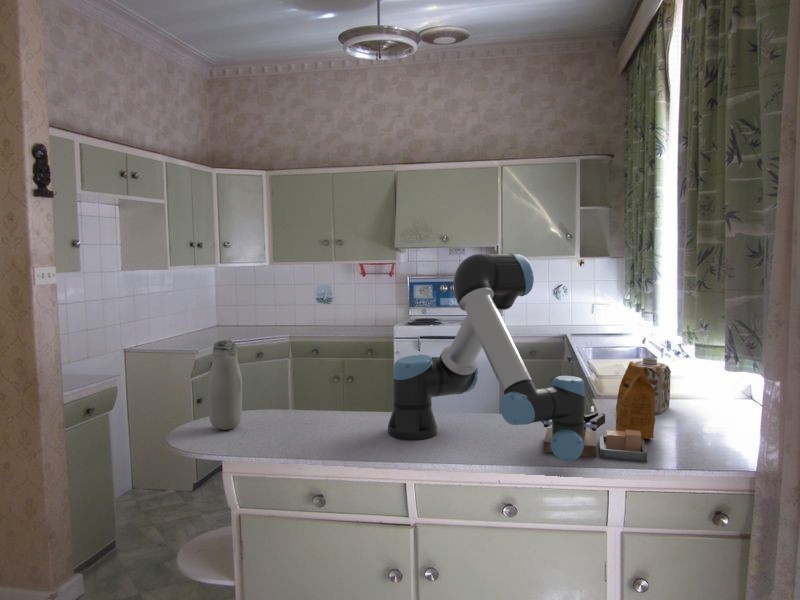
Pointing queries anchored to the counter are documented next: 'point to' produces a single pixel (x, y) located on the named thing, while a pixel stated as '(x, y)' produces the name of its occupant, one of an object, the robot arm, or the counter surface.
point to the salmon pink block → (615, 440)
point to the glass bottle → (225, 387)
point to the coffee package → (636, 402)
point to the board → (588, 443)
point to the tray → (622, 452)
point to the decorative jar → (658, 382)
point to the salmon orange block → (633, 440)
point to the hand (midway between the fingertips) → (571, 409)
